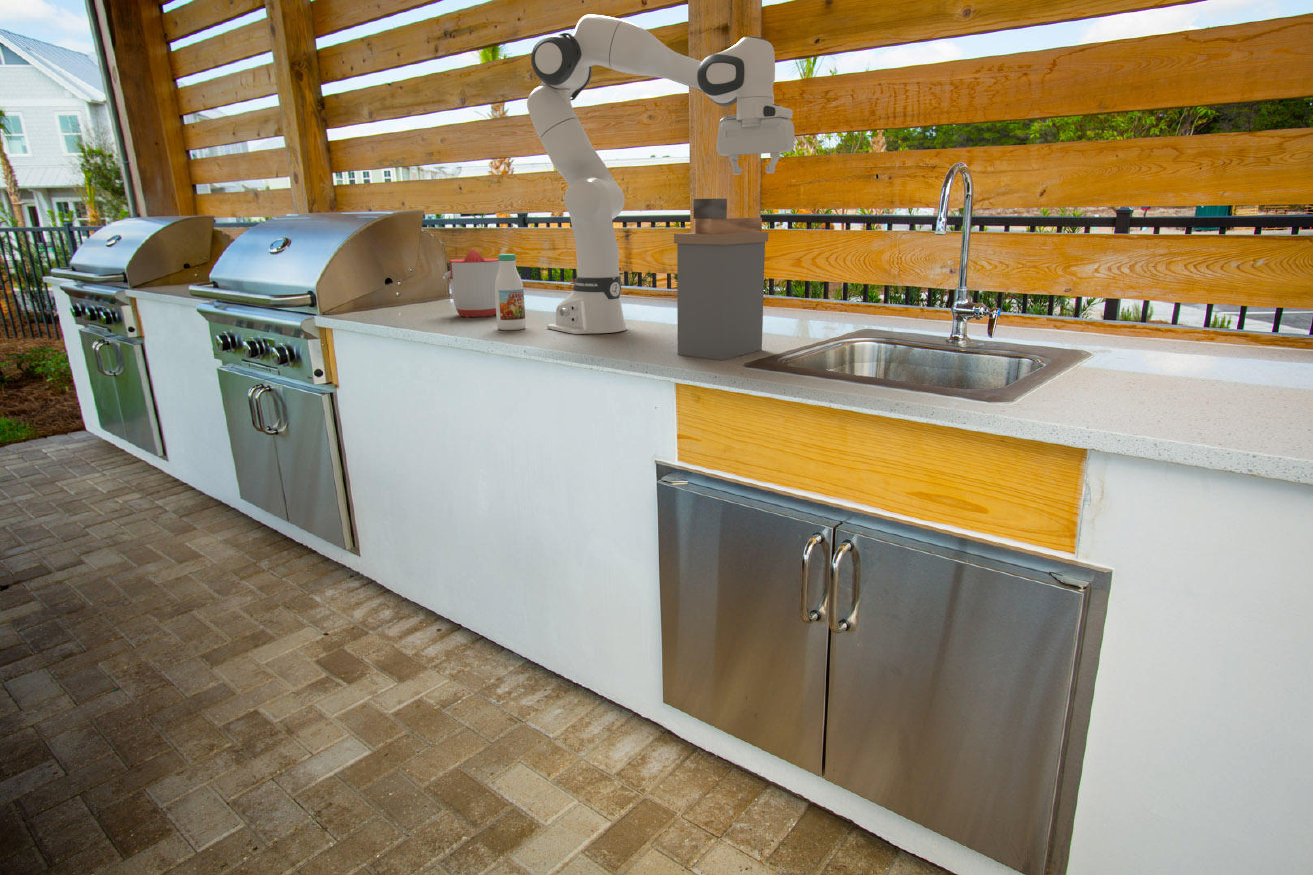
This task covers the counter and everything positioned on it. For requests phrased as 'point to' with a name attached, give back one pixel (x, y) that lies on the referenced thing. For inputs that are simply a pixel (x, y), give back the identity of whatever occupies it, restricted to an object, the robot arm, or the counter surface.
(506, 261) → the milk bottle
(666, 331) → the counter surface
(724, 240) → the cabinet
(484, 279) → the citrus juicer
